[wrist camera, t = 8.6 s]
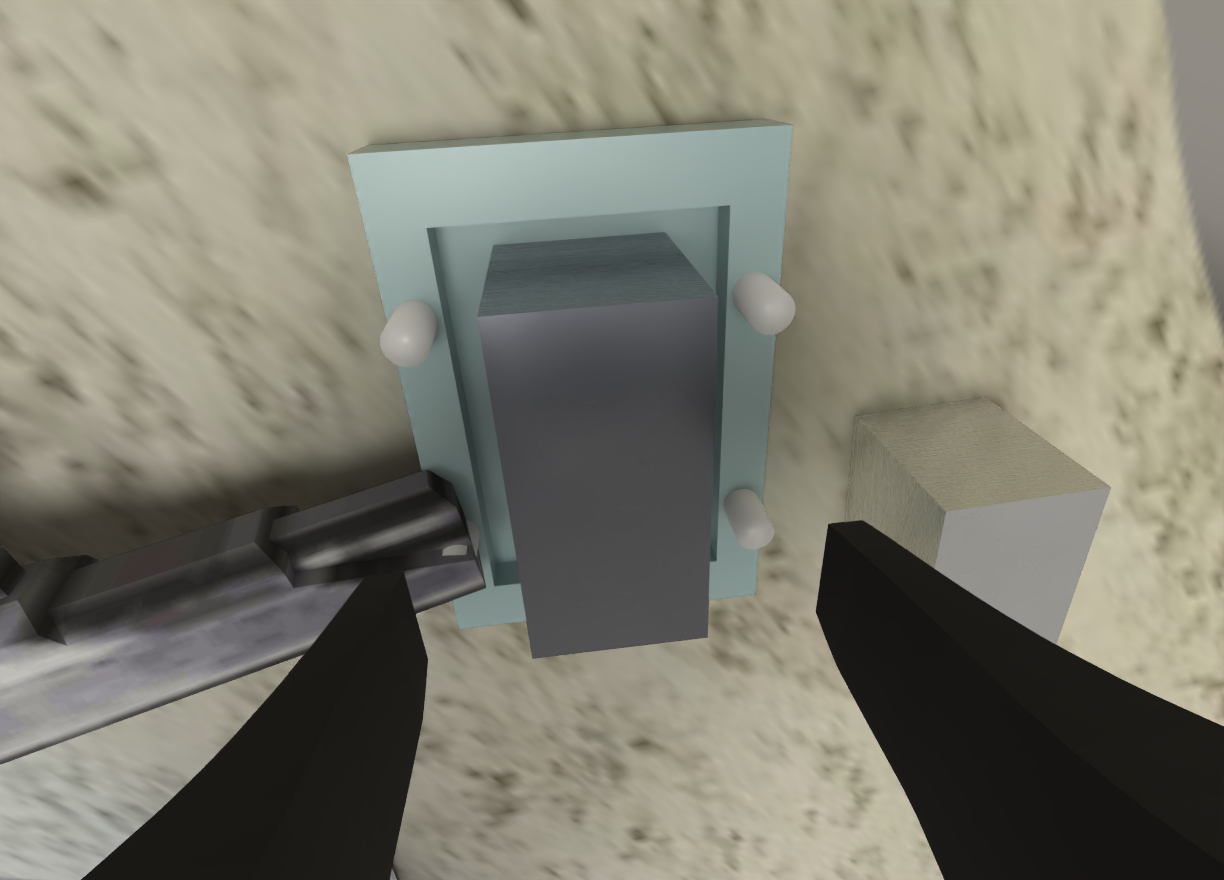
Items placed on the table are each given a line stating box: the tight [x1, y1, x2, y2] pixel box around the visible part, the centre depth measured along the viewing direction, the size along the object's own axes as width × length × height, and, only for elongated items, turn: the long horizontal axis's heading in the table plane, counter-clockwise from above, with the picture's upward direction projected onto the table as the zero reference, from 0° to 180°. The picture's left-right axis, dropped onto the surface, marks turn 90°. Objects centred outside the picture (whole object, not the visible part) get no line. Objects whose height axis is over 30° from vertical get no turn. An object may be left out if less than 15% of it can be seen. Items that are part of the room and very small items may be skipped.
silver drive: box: [845, 397, 1111, 644], centre depth 19 cm, size 8×4×5 cm, turn 6°
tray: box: [347, 119, 796, 629], centre depth 16 cm, size 13×9×3 cm
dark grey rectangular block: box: [477, 232, 718, 658], centre depth 15 cm, size 8×4×5 cm, turn 3°
